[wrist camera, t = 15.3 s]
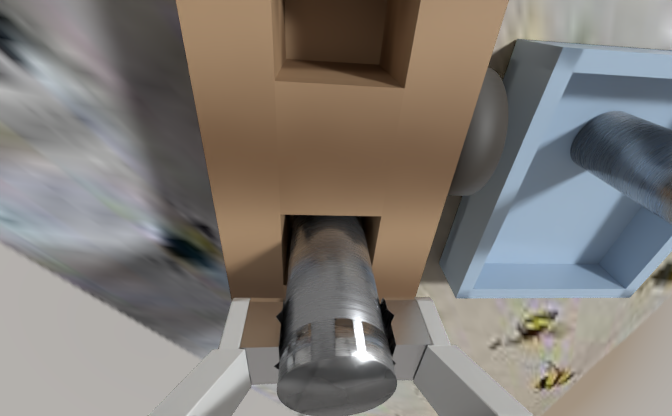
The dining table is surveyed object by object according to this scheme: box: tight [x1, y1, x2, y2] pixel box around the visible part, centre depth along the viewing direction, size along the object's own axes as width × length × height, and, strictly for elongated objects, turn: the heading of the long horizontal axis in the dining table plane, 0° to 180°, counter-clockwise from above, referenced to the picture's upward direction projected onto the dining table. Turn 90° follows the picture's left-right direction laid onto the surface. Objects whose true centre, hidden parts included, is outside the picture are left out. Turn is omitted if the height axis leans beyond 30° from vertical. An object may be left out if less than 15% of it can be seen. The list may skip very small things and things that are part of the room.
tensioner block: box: [176, 0, 509, 303], centre depth 12 cm, size 16×10×6 cm, turn 176°
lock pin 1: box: [277, 215, 397, 416], centre depth 11 cm, size 3×3×9 cm
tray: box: [439, 39, 672, 298], centre depth 16 cm, size 14×12×3 cm
